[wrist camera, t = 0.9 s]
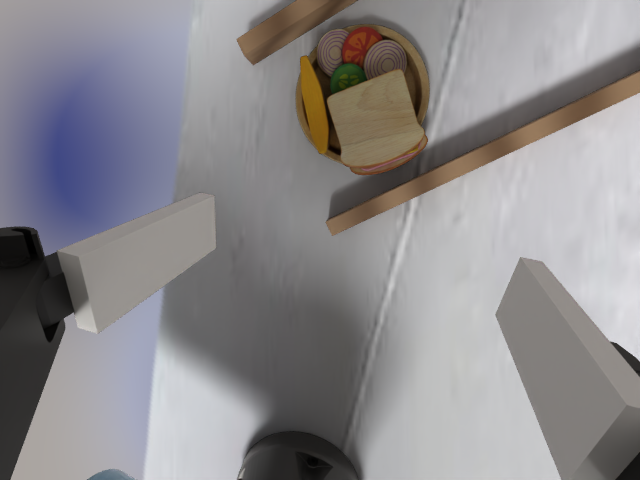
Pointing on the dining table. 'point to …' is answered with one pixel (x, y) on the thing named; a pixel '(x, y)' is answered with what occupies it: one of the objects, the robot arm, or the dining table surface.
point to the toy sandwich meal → (364, 98)
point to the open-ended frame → (322, 3)
